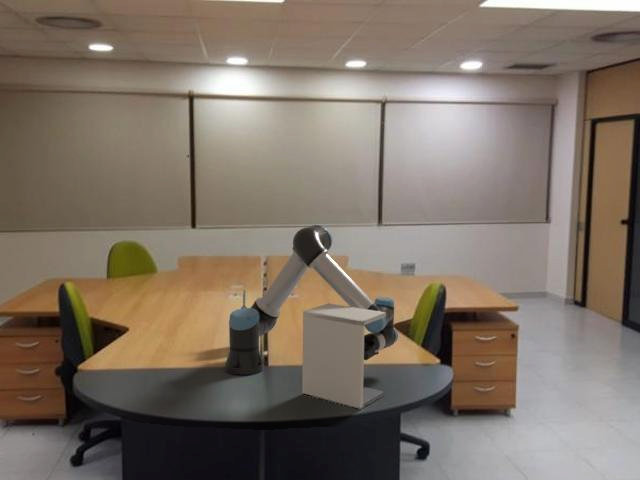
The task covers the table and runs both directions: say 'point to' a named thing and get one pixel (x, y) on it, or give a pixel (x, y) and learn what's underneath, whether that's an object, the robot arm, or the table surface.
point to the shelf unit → (336, 353)
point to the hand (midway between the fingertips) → (337, 358)
